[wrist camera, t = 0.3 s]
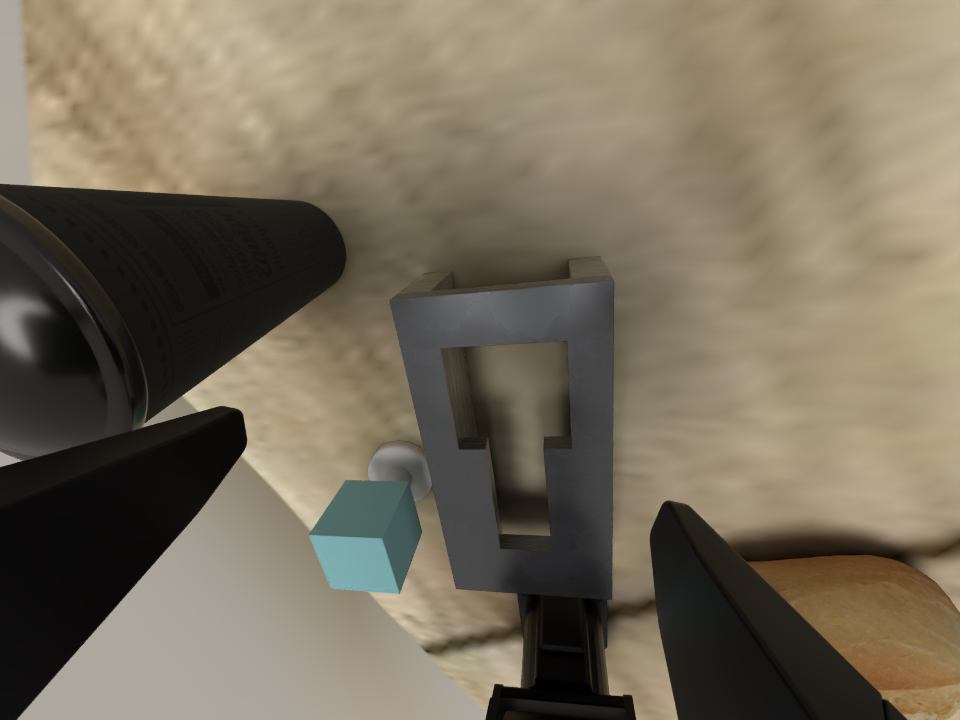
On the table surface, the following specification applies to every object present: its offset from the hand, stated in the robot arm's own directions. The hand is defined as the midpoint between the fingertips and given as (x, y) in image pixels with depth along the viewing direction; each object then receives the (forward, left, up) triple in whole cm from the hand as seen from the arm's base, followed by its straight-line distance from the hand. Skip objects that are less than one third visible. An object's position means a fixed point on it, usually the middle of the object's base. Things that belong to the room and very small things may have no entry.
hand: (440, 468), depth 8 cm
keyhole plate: (-8, 0, -14) cm, 16 cm away
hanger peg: (-12, +8, -14) cm, 20 cm away
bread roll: (-21, -16, -14) cm, 30 cm away
